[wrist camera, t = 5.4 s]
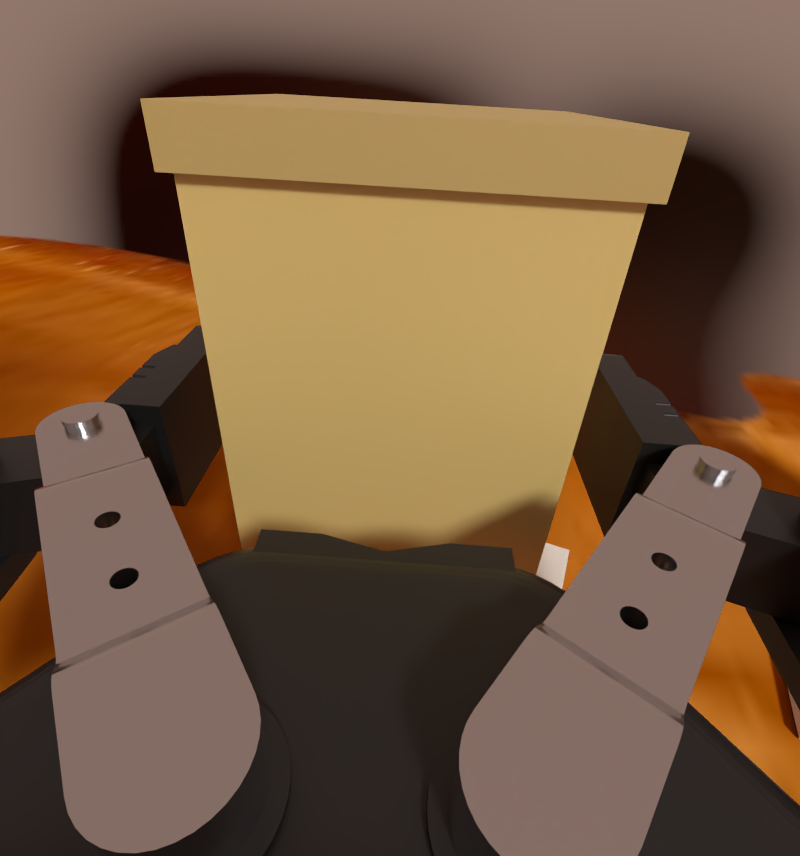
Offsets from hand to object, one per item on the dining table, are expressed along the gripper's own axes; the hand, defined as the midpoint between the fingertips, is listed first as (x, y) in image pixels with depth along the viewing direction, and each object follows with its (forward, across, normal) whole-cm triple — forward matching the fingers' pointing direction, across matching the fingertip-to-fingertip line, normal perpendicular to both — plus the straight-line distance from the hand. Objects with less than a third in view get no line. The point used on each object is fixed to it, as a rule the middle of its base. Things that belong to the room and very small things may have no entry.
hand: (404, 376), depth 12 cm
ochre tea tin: (-1, 0, +7) cm, 7 cm away
